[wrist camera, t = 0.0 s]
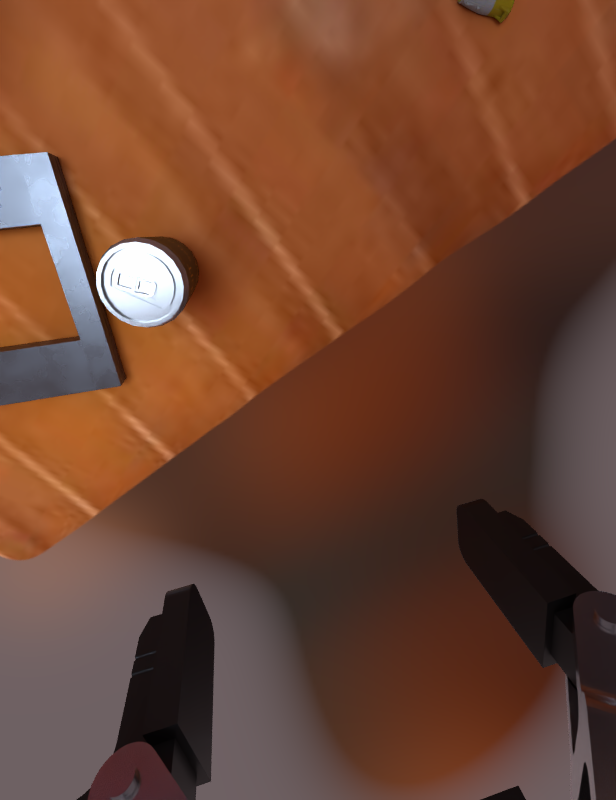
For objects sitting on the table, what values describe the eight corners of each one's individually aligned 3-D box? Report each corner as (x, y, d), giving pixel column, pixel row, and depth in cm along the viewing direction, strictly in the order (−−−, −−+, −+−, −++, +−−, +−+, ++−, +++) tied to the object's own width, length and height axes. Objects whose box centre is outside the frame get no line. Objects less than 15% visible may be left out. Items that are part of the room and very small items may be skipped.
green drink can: (128, 290, 35) (84, 316, 24) (140, 227, 33) (99, 223, 22) (191, 309, 36) (176, 341, 26) (205, 249, 35) (197, 256, 24)
